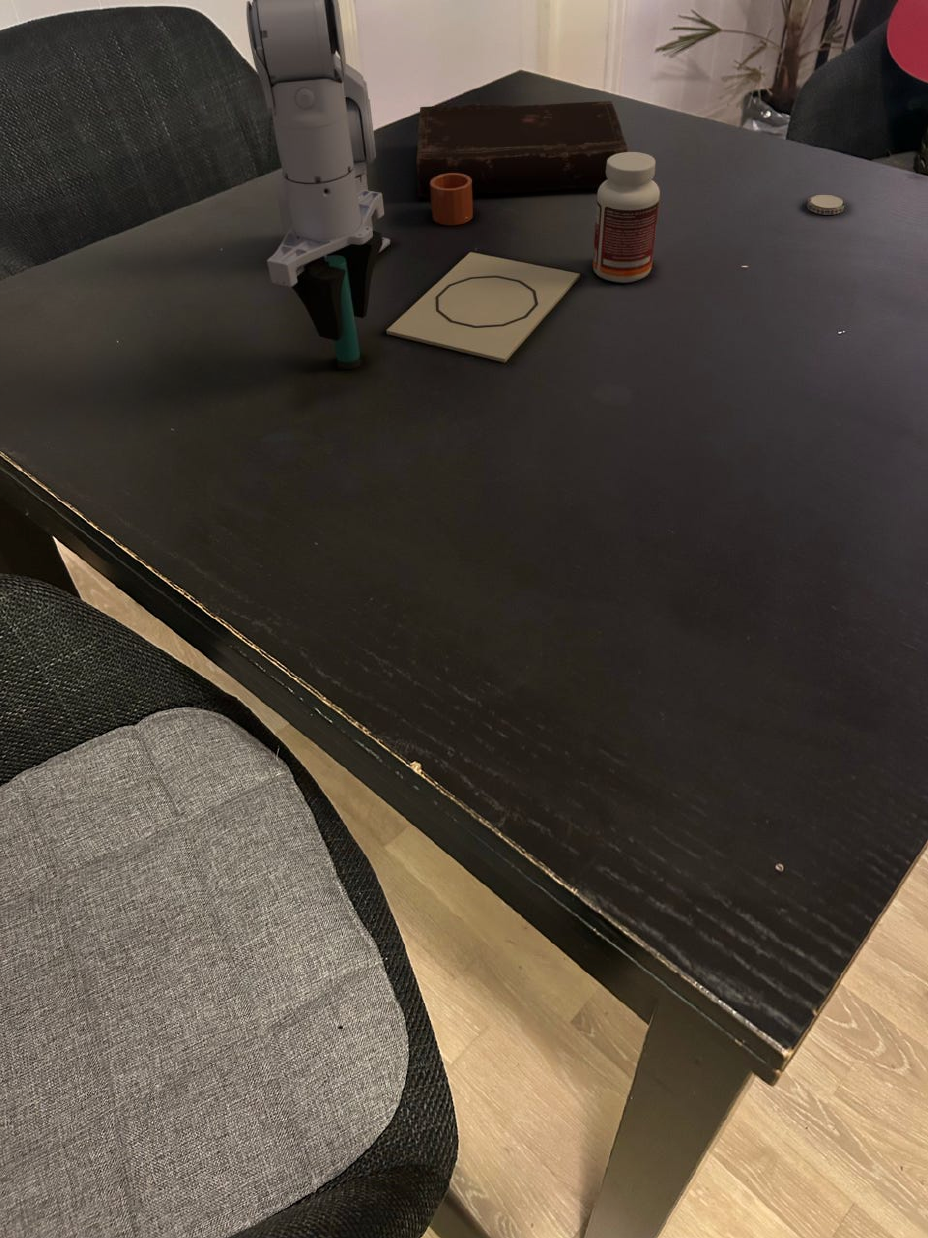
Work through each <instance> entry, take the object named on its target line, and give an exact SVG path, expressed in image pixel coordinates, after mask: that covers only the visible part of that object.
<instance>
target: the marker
mask: <svg viewBox="0 0 928 1238" xmlns="http://www.w3.org/2000/svg"><path fill="white" fill-rule="evenodd" d="M324 259H325V262H327V261H328V262H329V266H331V267H335V268H340V269H344V270H346V273H345V276H344V280H343V285H342V292H341V313H342V325H343V330H342V337H341V338H340V339H339V340H338V341H335V340H333V345H334V350H335V357H336V363H337V366H338V368H340V369H342V370H354V369H357V368H358V367H359V366H360V365H361V364H362V360H361V353H360V346H359V338H358V332H357V327H356V320H355V316H354V312H353V305H352V298H351V292H350V285H349V278H348V271H347V265H346V259H345V258H344V257H343V256H339V255H332V256H327V257H325V258H324Z"/></svg>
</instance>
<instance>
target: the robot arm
mask: <svg viewBox="0 0 928 1238" xmlns="http://www.w3.org/2000/svg"><path fill="white" fill-rule="evenodd" d="M340 9H341V8H340V3H339V0H252V2H251V1H250V0H247V1H246V9H245V11H246V24H247V32H248V39H249V44H250V49H251V55H252V58H253V63H254V67H255V70H256V73H257V76H258V78H259V81H260V84H261V87H262V91H263V94H264V95H263V96H264V100H265V105H266V108H267V112H268V114H269V115H272V123H273V129H274V137H275V142H276V143H275V144H276V148H277V152H278V157H279V162H280V166H281V174H280V175H279V178H278V183H277V203H278V208H279V213H280V219H281V223H282V228H283V234H284V238H283V239H282V241H281V243H280V244H279V246H278V248H277V250H275V252H274V253H273V254H272V255H271V256H270V257H269V258H268V259H267V260H266V264H267V268H268V274H269V277H270V282H271V283H272V284H275V285H279V286H282V287H288V288H292V290H293V291H294V292H295V293H296V295H297V296H298V297H299V299H300V301H301V302H302V304H303V305H304V307H305V309H306V311H307V312H308V315H309V318H311V319H310V320H311V321H312V323H313V325H314V327H315V329H316V332H317V334H318V336H319V337H320V338H323V339H328V340H331V341H334V340H335V341H338V340H339V339H340V338H341V337H342V330H343V325H342V313H341V292H342V285H343V280H344V276H345V273H346V270H344V269H340V268H335V267H331V266H329V262H328V261H327V262H325V259H324V258H325V257H327V256H332V255H339V256H343V257H344V258H345V259H346V265H347V271H348V278H349V285H350V292H351V298H352V305H353V312H354V318H355V317H357V318H360V319H364V318H365V317H367V314H368V308H369V301H370V300H369V299H370V290H371V284H372V278H373V277H372V276H373V272H374V268H375V265H376V261H377V259H378V256H379V254H380V253H381V252H382V251H383V250H384V249H386V248H387V247H388V246H389V245H390V244H391V239H390V238H387V237H383V235H382V233H381V232H380V231H376V230H374V226H373V219H374V220H378V219H381V218H382V217H383V216H385V207H384V200H383V193H382V192H378V191H372V190H369V186H368V177H367V174H368V173H367V165H372V164H373V163H374V161H375V160H376V158H377V150H376V141H375V131H374V124H373V114H372V108H371V107H372V105H371V99H369V92H368V83H367V81H366V80H364V76H363V75H362V74H361V73H360V72H359V71H358V70H356V69H355V68H353V67H352V66H350V64H348V63H347V60H346V59H347V57H346V50H345V49H346V48H345V40H344V34H343V33H344V32H343V25H342V18H341V10H340ZM336 53H337V54H338V56H337V54H336Z"/></svg>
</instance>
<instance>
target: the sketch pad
mask: <svg viewBox="0 0 928 1238" xmlns="http://www.w3.org/2000/svg"><path fill="white" fill-rule="evenodd" d="M580 276H581V273H577V272H573V271H568V270H563V269H558V268H552V267H546V266H542V265H538V264H532V263H527V262H522V261H517V260H513V259H508V258H502V257H497V256H492V255H488V254H482V253H477V252H472V251H470V252H469V253H467V254H466V255H465V256H464V257H463V258H462V259H461V260H460V261H459V262H458V263H457V264H456V265H454V267H452V269H450V270H449V271H448V272H447V273H446V274H445V275H443V277H442V278H441V279H440V280H438V281H437V282H436V284H434V285H432V287H431V288H430V289H429V290H427V292H426V293H425V294H424V295H422V296H421V297H420V298H419V299H418V300H417V301H416V302H415V303H414V304H413V305H412V306H411V307H410V308H409V309H407V310H406V311H405V312H404V313H403V314H402V315H401V316H400V317H399V318H398V319H397V320H396V321H395V322H394V323H392V324H391V325H390V326H389V327H388V328H387V329H386V335H390V336H392V337H393V336H394V337H399V338H402V339H406V340H410V341H415V342H419V343H422V344H426V345H431V346H434V347H439V348H444V349H447V350H451V351H454V352H455V351H456V352H460V353H464V354H468V355H472V356H477V357H479V358H480V357H481V358H483V359H489V360H492V361H497V362H500V363H505V364H506V362H507V361H509V359H510V358H511V356H513V354H514V353H515V352H516V351H517V350H518V349H519V347H521V345H522V344H523V343H524V342H525V341H526V340H527V338H528V337H529V336H530V335H531V334H532V333H533V331H534V330H535V329H536V328H537V327H538V326H539V324H540V323H542V321H543V320H545V318H546V316H547V315H548V314H549V313H550V312H551V311H552V309H553V308H555V306H556V305H557V304H558V303H559V302H560V301H561V299H562V298H563V297H564V296H565V294H567V292H569V290H570V289H571V288H572V287H573V286H574V284H575V283H576V282H577V281H578V280H579V279H580Z"/></svg>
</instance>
